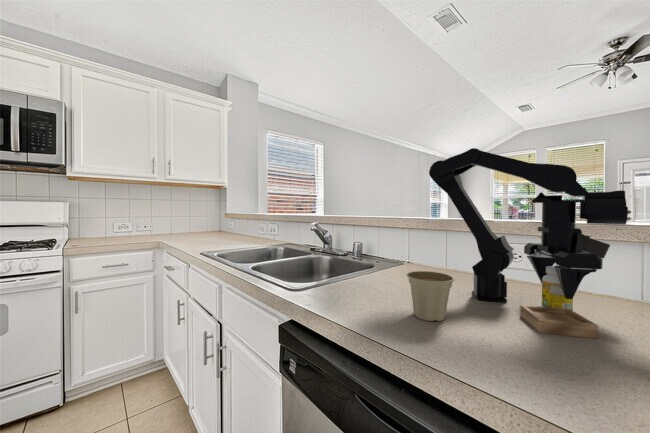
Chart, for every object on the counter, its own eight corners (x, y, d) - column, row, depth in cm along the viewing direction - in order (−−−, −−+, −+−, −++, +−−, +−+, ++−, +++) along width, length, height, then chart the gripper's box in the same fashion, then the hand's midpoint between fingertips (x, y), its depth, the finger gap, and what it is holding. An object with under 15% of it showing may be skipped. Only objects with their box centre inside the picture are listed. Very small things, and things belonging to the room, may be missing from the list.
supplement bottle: (573, 316, 58) (574, 271, 58) (541, 310, 61) (541, 268, 61) (572, 309, 62) (573, 267, 62) (541, 304, 66) (542, 264, 65)
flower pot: (451, 311, 61) (451, 272, 61) (456, 328, 52) (457, 283, 52) (407, 306, 64) (407, 269, 64) (405, 321, 55) (405, 279, 55)
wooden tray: (540, 332, 50) (540, 320, 50) (520, 315, 59) (520, 304, 59) (597, 338, 48) (597, 325, 48) (568, 319, 56) (568, 308, 56)
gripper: (639, 226, 50) (636, 310, 51) (575, 221, 68) (573, 284, 69) (566, 225, 53) (564, 305, 54) (523, 221, 71) (522, 281, 72)
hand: (556, 292), depth 62 cm, fingers open, 9 cm apart
